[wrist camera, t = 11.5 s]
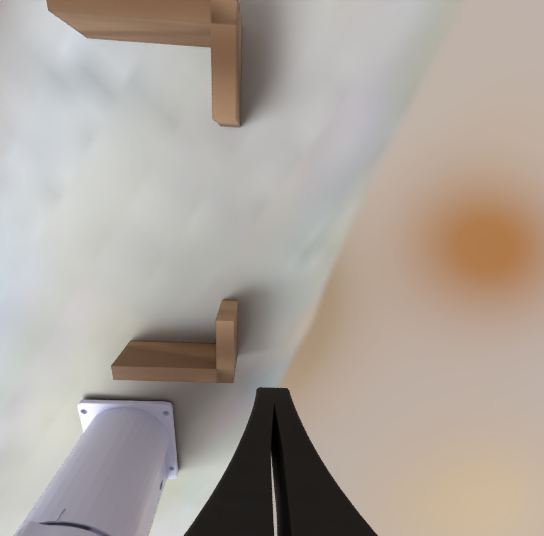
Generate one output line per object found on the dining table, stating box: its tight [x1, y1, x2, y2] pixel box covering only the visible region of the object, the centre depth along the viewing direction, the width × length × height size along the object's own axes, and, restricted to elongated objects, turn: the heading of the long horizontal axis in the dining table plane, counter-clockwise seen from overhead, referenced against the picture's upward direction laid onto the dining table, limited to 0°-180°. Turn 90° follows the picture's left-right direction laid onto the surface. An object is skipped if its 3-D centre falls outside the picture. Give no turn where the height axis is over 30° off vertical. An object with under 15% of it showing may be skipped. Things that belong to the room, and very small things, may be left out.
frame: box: [46, 0, 242, 383], centre depth 18 cm, size 22×9×3 cm, turn 177°
